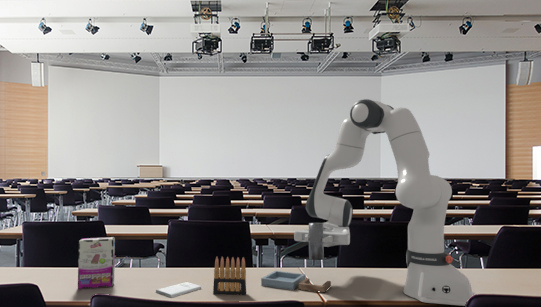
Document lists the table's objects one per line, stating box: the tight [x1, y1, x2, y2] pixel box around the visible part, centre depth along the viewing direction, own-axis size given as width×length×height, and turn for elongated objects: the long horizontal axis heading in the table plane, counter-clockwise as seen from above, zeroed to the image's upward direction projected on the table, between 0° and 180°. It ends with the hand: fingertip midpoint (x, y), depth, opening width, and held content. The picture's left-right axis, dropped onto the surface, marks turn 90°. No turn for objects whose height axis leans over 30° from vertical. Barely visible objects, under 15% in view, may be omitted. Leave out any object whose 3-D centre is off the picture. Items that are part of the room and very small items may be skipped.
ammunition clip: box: [212, 256, 247, 296], centre depth 125 cm, size 11×2×12 cm, turn 86°
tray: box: [260, 270, 306, 291], centre depth 137 cm, size 12×12×2 cm
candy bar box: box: [77, 236, 116, 290], centre depth 133 cm, size 11×5×16 cm, turn 105°
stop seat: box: [298, 277, 332, 293], centre depth 131 cm, size 9×8×2 cm
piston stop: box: [308, 222, 325, 261], centre depth 132 cm, size 5×5×12 cm
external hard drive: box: [155, 281, 202, 298], centre depth 128 cm, size 2×8×12 cm
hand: (315, 239), depth 132 cm, fingers closed on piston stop, 5 cm apart
